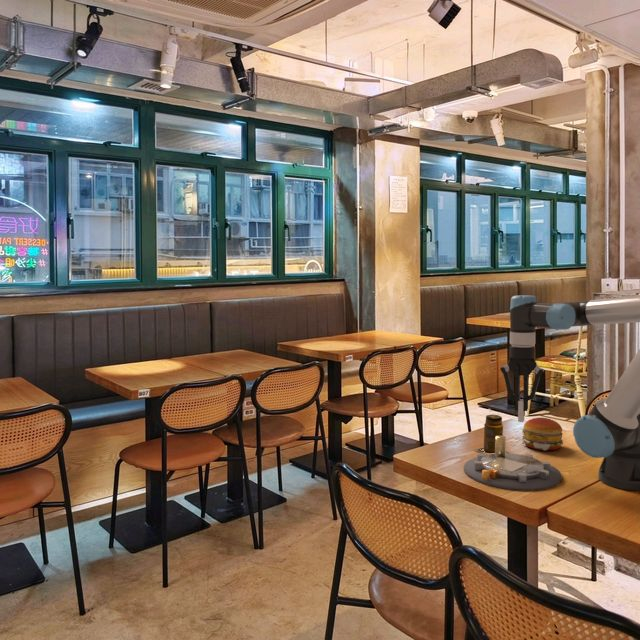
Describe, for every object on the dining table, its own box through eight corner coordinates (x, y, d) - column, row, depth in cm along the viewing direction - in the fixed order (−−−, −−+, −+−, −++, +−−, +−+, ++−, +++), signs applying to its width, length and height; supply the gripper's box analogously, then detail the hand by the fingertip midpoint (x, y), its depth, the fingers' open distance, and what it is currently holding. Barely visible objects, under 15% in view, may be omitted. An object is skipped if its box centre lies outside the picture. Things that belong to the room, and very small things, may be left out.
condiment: (507, 452, 207) (508, 417, 206) (490, 456, 203) (491, 420, 201) (490, 446, 213) (491, 412, 212) (473, 450, 209) (474, 415, 207)
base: (579, 475, 184) (580, 464, 184) (525, 498, 167) (526, 485, 167) (500, 452, 206) (500, 442, 206) (444, 470, 189) (445, 459, 188)
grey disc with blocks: (524, 455, 200) (525, 430, 199) (566, 478, 178) (567, 451, 178) (461, 460, 195) (461, 435, 194) (497, 485, 173) (498, 457, 172)
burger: (560, 442, 218) (561, 415, 217) (565, 454, 205) (566, 425, 204) (520, 440, 221) (521, 412, 220) (523, 451, 208) (524, 422, 207)
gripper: (546, 345, 191) (544, 420, 193) (502, 343, 197) (501, 416, 199) (543, 348, 184) (541, 425, 186) (498, 346, 190) (497, 421, 192)
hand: (521, 420), depth 192 cm, fingers closed
